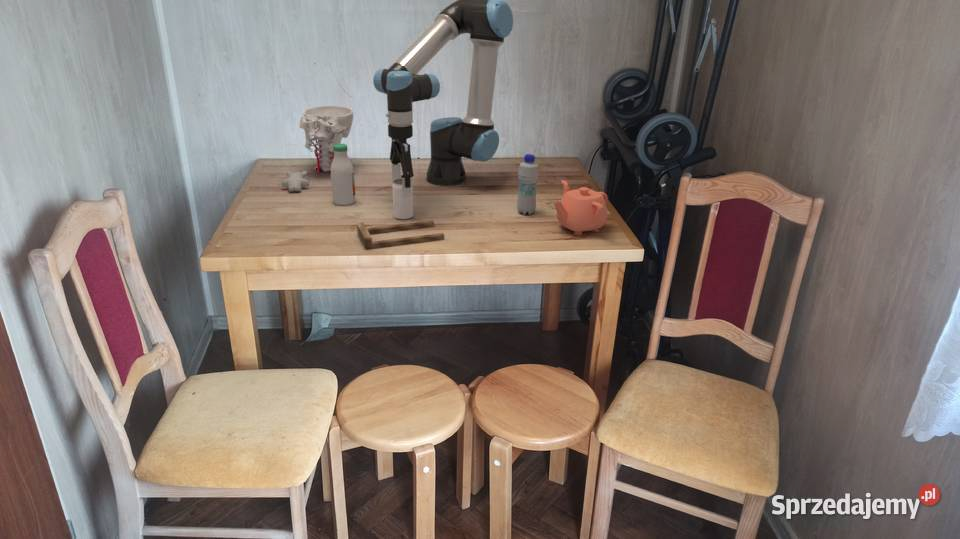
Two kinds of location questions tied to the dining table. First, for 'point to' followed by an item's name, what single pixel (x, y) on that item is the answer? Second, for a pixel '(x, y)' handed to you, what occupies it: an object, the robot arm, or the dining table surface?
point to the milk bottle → (342, 177)
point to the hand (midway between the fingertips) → (401, 190)
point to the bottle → (527, 185)
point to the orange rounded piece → (581, 209)
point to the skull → (326, 131)
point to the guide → (367, 239)
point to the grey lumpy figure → (295, 181)
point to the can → (401, 202)
